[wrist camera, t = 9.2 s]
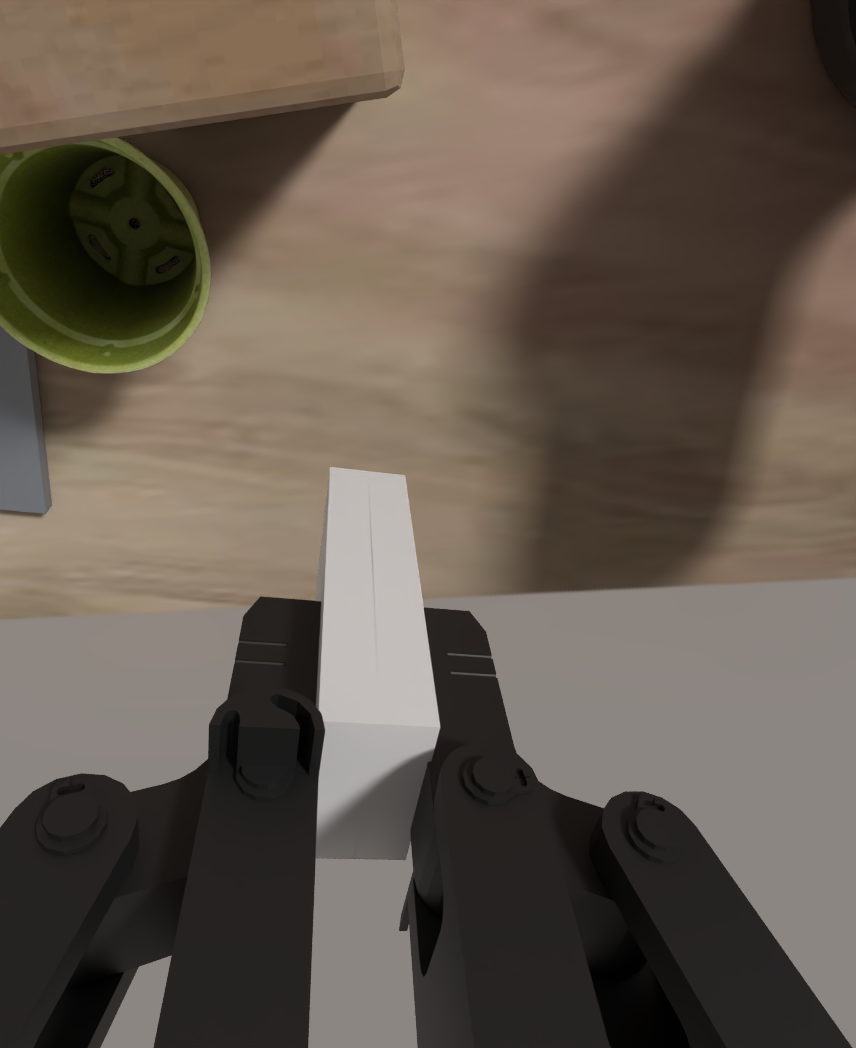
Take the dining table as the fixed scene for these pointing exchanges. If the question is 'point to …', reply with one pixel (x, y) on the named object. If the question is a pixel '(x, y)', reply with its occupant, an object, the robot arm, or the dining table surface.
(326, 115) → the dining table surface
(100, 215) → the plant pot
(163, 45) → the wooden block
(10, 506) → the console
